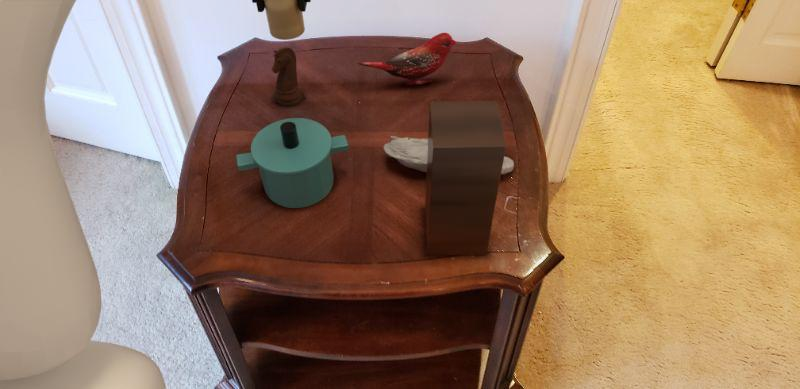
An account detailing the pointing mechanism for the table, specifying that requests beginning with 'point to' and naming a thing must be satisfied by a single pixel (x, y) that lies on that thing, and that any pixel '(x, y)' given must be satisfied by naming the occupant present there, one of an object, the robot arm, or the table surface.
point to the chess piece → (286, 77)
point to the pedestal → (462, 176)
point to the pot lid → (291, 146)
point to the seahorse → (421, 153)
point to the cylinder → (284, 19)
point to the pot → (297, 179)
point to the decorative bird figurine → (417, 60)
